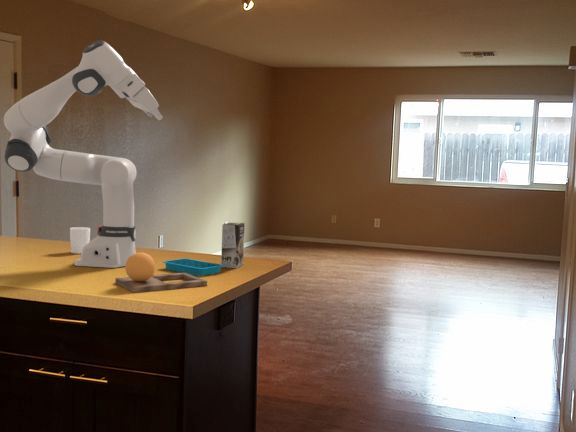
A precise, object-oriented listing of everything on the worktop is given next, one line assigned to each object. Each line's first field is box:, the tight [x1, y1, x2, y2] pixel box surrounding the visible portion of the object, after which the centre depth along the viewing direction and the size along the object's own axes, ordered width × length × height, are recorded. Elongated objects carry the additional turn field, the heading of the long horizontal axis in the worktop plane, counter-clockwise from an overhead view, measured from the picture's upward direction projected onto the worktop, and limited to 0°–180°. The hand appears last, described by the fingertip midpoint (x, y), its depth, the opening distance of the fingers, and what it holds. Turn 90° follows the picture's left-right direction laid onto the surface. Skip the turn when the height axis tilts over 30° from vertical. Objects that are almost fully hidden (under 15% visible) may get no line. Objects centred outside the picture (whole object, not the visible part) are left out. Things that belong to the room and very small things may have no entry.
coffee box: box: [220, 222, 245, 269], centre depth 236 cm, size 9×6×16 cm
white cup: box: [69, 226, 91, 255], centre depth 256 cm, size 8×8×10 cm
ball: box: [124, 251, 156, 282], centre depth 195 cm, size 9×9×9 cm
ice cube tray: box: [162, 258, 223, 277], centre depth 225 cm, size 12×20×3 cm, turn 53°
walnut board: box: [114, 272, 208, 293], centre depth 199 cm, size 24×16×2 cm, turn 124°
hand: (156, 117), depth 208 cm, fingers open, 8 cm apart
